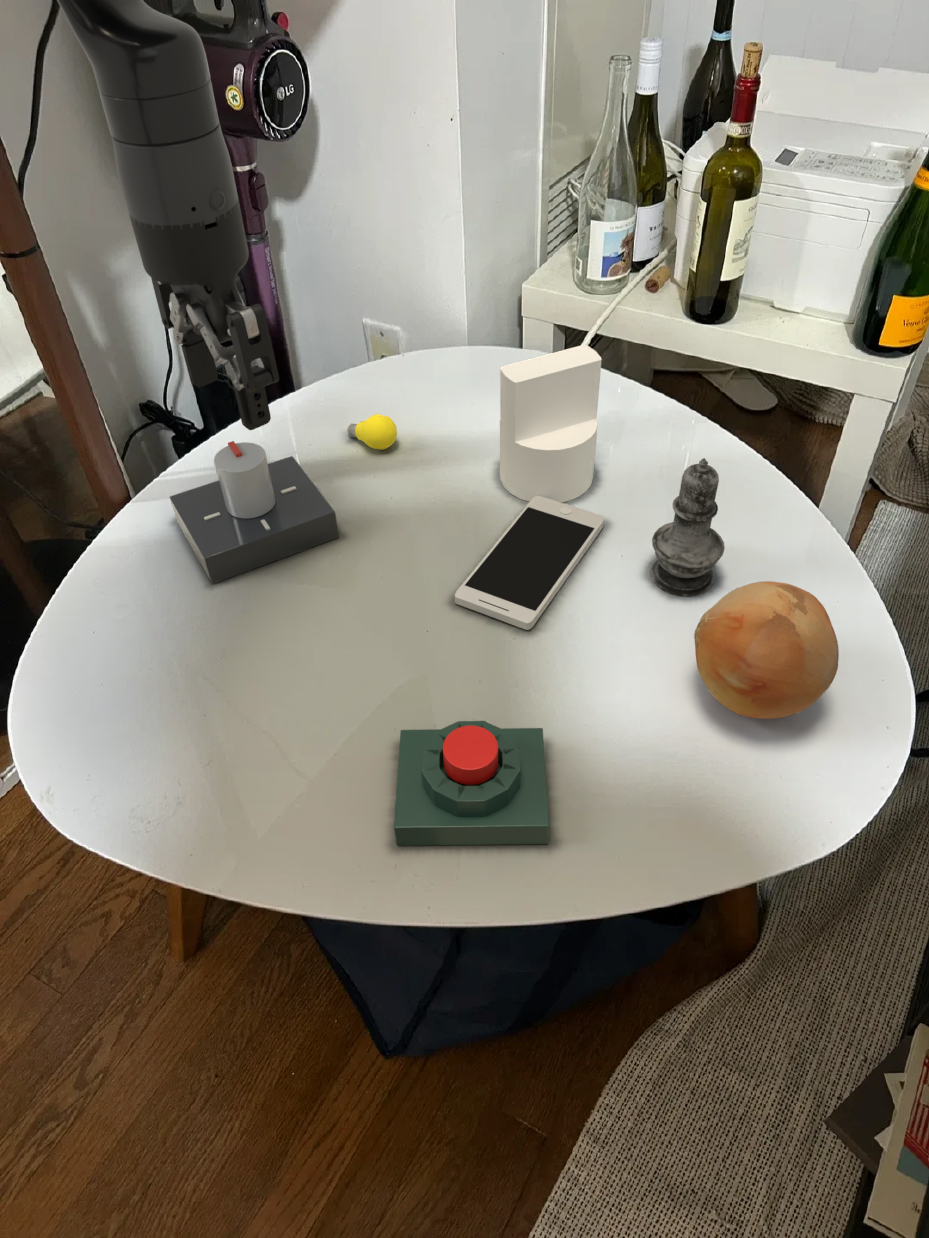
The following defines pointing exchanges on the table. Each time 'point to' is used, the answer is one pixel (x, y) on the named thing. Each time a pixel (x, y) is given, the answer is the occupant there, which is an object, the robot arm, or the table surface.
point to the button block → (471, 792)
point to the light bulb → (375, 431)
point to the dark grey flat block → (255, 523)
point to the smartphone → (530, 562)
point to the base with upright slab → (549, 424)
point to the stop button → (470, 755)
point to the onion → (766, 650)
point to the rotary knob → (245, 479)
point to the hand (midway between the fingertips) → (230, 403)
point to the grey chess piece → (689, 536)
